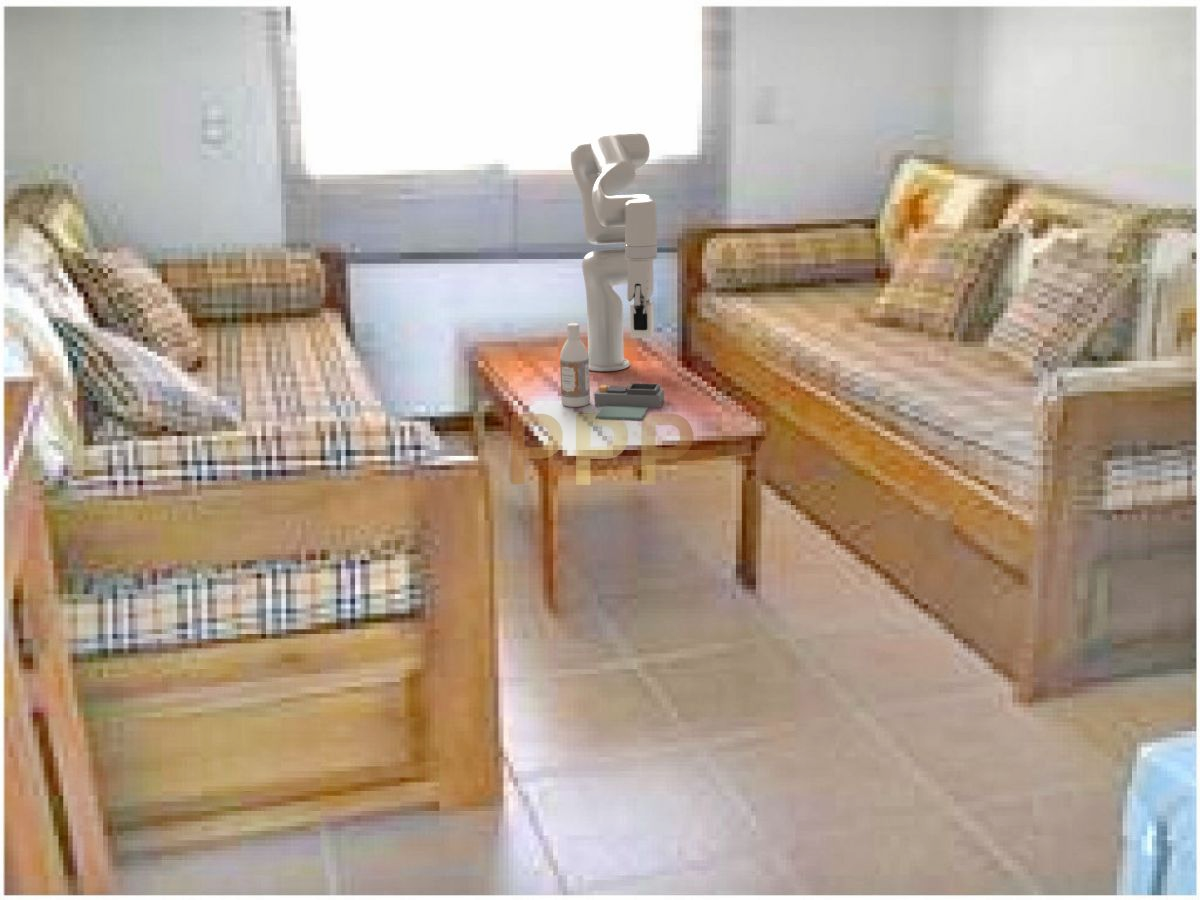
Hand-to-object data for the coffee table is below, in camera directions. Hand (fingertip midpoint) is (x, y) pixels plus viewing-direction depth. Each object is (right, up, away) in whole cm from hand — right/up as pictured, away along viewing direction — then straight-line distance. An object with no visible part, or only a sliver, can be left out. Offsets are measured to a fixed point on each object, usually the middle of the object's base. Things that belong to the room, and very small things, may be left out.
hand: (642, 326), depth 333 cm
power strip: (-3, -18, +6) cm, 19 cm away
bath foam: (-16, -19, +7) cm, 25 cm away
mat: (-5, -21, -3) cm, 22 cm away
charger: (0, -2, +1) cm, 2 cm away
